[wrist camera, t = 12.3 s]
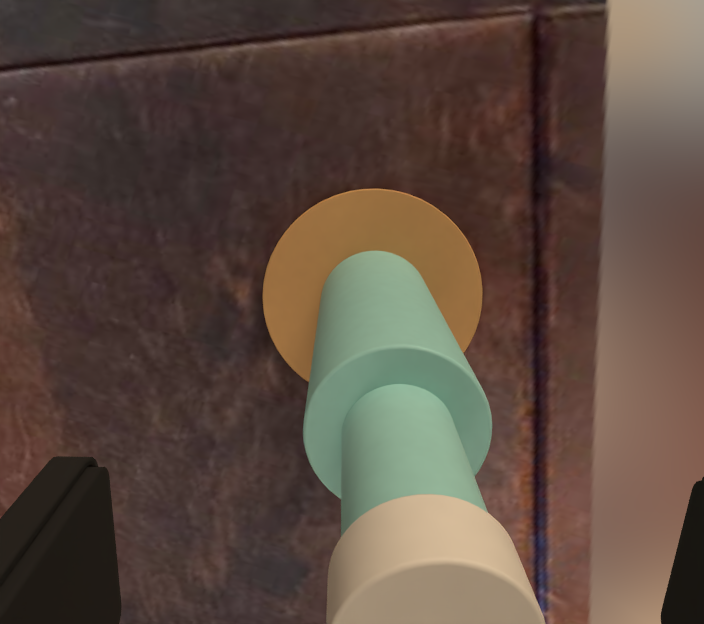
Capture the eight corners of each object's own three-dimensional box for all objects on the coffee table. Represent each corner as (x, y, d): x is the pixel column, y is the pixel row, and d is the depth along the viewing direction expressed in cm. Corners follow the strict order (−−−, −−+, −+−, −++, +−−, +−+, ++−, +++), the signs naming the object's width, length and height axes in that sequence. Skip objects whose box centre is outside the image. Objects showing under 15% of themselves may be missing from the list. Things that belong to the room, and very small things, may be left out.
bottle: (322, 247, 23) (273, 508, 7) (432, 252, 24) (628, 518, 7) (319, 351, 25) (272, 771, 9) (423, 355, 25) (574, 776, 9)
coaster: (263, 183, 23) (262, 184, 23) (492, 193, 23) (494, 194, 23) (263, 394, 26) (262, 398, 25) (469, 401, 26) (471, 405, 26)
